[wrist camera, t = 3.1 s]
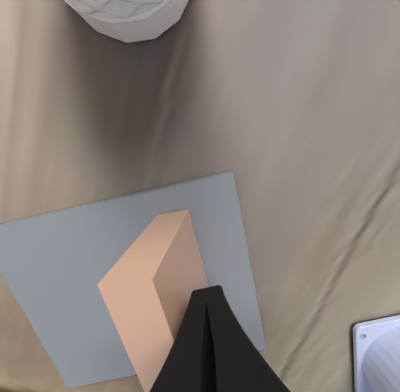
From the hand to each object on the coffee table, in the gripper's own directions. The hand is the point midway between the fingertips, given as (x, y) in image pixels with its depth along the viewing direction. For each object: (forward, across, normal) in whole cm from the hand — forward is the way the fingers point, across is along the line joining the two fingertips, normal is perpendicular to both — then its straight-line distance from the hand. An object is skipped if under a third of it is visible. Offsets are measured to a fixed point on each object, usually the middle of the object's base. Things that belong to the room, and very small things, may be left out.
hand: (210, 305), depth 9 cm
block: (+4, +1, 0) cm, 4 cm away
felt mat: (+5, +5, +2) cm, 8 cm away
